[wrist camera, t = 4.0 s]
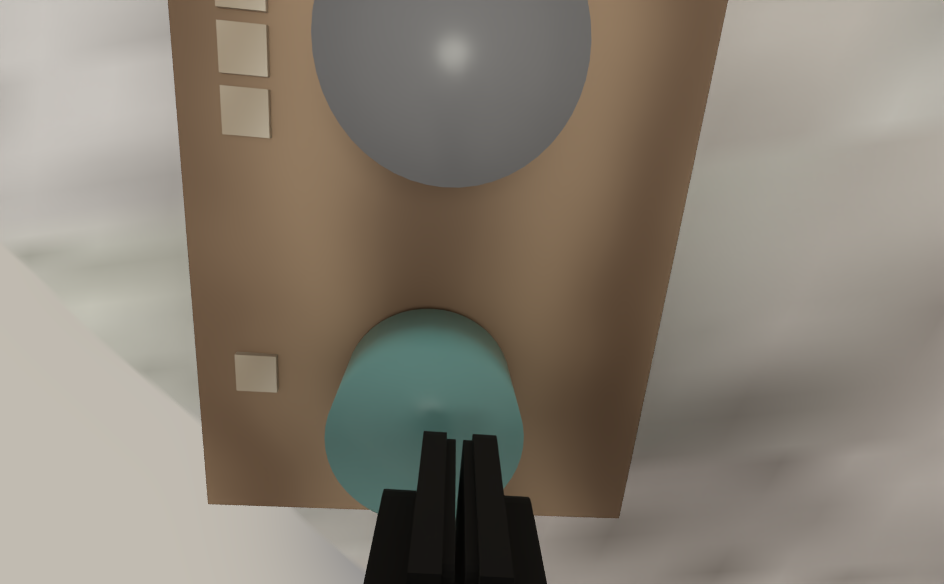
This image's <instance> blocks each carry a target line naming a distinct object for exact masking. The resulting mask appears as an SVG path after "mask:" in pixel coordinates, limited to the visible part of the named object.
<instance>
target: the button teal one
mask: <svg viewBox="0 0 944 584" xmlns="http://www.w3.org/2000/svg"><path fill="white" fill-rule="evenodd" d="M424 431H435V432H447V439H456V498H455V519H456V509H457V499H458V488H459V477H460V467H461V456H462V446H463V440H472V435H473V434H483V435H496V436H497V442H498V450H499V458H500V466H501V474H502V482H503V489H504V488H505V486H506V485H507V484H508V482H509V481H510V479H511V478H512V476H513V474H514V473H515V471H516V469H517V467H518V464H519V461H520V459H521V455H522V450H523V441H524V432H523V423H522V419H521V415H520V411H519V407H518V404H517V400H516V396H515V392H514V388H513V385H512V381H511V377H510V373H509V370H508V366H507V362H506V359H505V357H504V354H503V352H502V350H501V349H500V347H499V345H498V344H497V342H496V341H495V340H494V338H493V337H492V336H491V335H490V334H489V333H488V332H487V331H486V330H485V329H484V328H482V327H481V326H480V325H478V324H477V323H476V322H474V321H472V320H470V319H469V318H467V317H465V316H462V315H459V314H457V313H454V312H450V311H446V310H439V309H417V310H410V311H406V312H402V313H399V314H396V315H394V316H391V317H389V318H387V319H385V320H383V321H382V322H380V323H379V324H377V325H376V326H375V327H373V328H372V329H371V330H370V331H369V332H368V333H367V334H366V335H364V337H363V338H362V339H361V340H360V342H359V343H358V344H357V346H356V348H355V350H354V351H353V353H352V356H351V358H350V361H349V363H348V366H347V368H346V371H345V373H344V376H343V378H342V381H341V383H340V386H339V388H338V391H337V394H336V396H335V399H334V401H333V404H332V406H331V409H330V411H329V414H328V417H327V421H326V426H325V437H324V439H325V450H326V454H327V459H328V462H329V464H330V467H331V469H332V472H333V473H334V475H335V477H336V479H337V480H338V482H339V483H340V484H341V486H342V487H343V488H344V489H345V490H346V491H347V492H348V493H349V494H350V495H351V496H352V497H353V498H354V499H355V500H356V501H358V502H359V503H360V504H362V505H363V506H365V507H366V508H368V509H370V510H372V511H373V512H376V513H378V512H379V507H380V502H381V497H382V493H383V490H384V489H399V490H417V484H418V475H419V466H420V458H421V449H422V440H423V432H424Z"/></svg>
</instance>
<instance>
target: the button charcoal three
mask: <svg viewBox="0 0 944 584" xmlns="http://www.w3.org/2000/svg"><path fill="white" fill-rule="evenodd" d="M311 39H312V53H313V58H314V63H315V69H316V73H317V76H318V79H319V83H320V86H321V89H322V92H323V94H324V96H325V98H326V101H327V103H328V105H329V107H330V109H331V111H332V113H333V114H334V116H335V118H336V119H337V121H338V123H339V124H340V126H341V127H342V128H343V130H344V131H345V132H346V133H347V135H348V136H349V137H350V139H351V140H352V141H353V142H354V143H355V144H356V145H357V146H358V147H359V148H360V149H361V150H362V151H363V152H364V153H365V154H367V155H368V156H369V157H370V158H372V159H373V160H374V161H376V162H377V163H378V164H380V165H381V166H383V167H385V168H386V169H388V170H390V171H391V172H393V173H395V174H397V175H400V176H402V177H404V178H406V179H409V180H412V181H415V182H419V183H422V184H426V185H431V186H438V187H455V188H461V187H470V186H478V185H482V184H485V183H489V182H493V181H496V180H498V179H501V178H503V177H506V176H508V175H510V174H512V173H514V172H516V171H518V170H519V169H521V168H523V167H525V166H526V165H527V164H529V163H530V162H531V161H533V160H534V159H535V158H537V157H538V156H539V155H540V154H541V153H542V152H543V151H544V150H545V149H546V148H547V147H548V146H550V145H551V143H552V142H553V141H554V140H555V139H556V137H557V136H558V135H559V134H560V132H561V131H562V130H563V128H564V127H565V125H566V123H567V122H568V120H569V119H570V117H571V115H572V114H573V111H574V109H575V107H576V105H577V103H578V101H579V99H580V96H581V93H582V90H583V87H584V84H585V81H586V77H587V72H588V67H589V62H590V53H591V41H592V39H591V18H590V12H589V5H588V0H314V4H313V9H312V23H311Z"/></svg>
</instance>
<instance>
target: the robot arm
mask: <svg viewBox="0 0 944 584" xmlns="http://www.w3.org/2000/svg"><path fill="white" fill-rule="evenodd" d="M455 498H456V439H447V432H435V431H424V432H423V440H422V449H421V458H420V466H419V475H418V484H417V490H399V489H384V490H383V493H382V497H381V502H380V507H379V512H378V516H377V521H376V526H375V531H374V536H373V540H372V545H371V550H370V555H369V560H368V564H367V569H366V574H365V579H364V584H547V581H546V576H545V571H544V566H543V561H542V555H541V550H540V545H539V540H538V535H537V530H536V525H535V519H534V514H533V509H532V504H531V500H530V498H529V497H523V496H505V495H504V490H503V482H502V474H501V466H500V458H499V450H498V442H497V436H496V435H483V434H473V435H472V440H463V446H462V456H461V467H460V477H459V488H458V499H457V509H456V520H455Z"/></svg>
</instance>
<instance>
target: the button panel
mask: <svg viewBox="0 0 944 584" xmlns="http://www.w3.org/2000/svg"><path fill="white" fill-rule="evenodd" d="M727 3H728V0H588V5H589V12H590V18H591V39H592V41H591V53H590V62H589V67H588V72H587V77H586V81H585V84H584V87H583V90H582V93H581V96H580V99H579V101H578V103H577V105H576V107H575V109H574V111H573V114H572V115H571V117H570V119H569V120H568V122H567V123H566V125H565V127H564V128H563V130H562V131H561V132H560V134H559V135H558V136H557V137H556V139H555V140H554V141H553V142H552V143H551V145H550V146H548V147H547V148H546V149H545V150H544V151H543V152H542V153H541V154H540V155H539V156H538V157H537V158H535V159H534V160H533V161H531V162H530V163H529V164H527V165H526V166H525V167H523V168H521V169H519V170H518V171H516V172H514V173H512V174H510V175H508V176H506V177H503V178H501V179H498V180H496V181H493V182H489V183H485V184H482V185H478V186H470V187H461V188H455V187H438V186H431V185H426V184H422V183H419V182H415V181H412V180H409V179H406V178H404V177H402V176H400V175H397V174H395V173H393V172H391V171H390V170H388V169H386V168H385V167H383V166H381V165H380V164H378V163H377V162H376V161H374V160H373V159H372V158H370V157H369V156H368V155H367V154H365V153H364V152H363V151H362V150H361V149H360V148H359V147H358V146H357V145H356V144H355V143H354V142H353V141H352V140H351V139H350V137H349V136H348V135H347V133H346V132H345V131H344V130H343V128H342V127H341V126H340V124H339V123H338V121H337V119H336V118H335V116H334V114H333V113H332V111H331V109H330V107H329V105H328V103H327V101H326V98H325V96H324V94H323V92H322V89H321V86H320V83H319V79H318V76H317V73H316V69H315V63H314V58H313V53H312V39H311V23H312V9H313V4H314V0H168V8H169V20H170V33H171V45H172V58H173V70H174V83H175V96H176V108H177V121H178V133H179V146H180V158H181V171H182V183H183V196H184V208H185V221H186V233H187V246H188V258H189V271H190V283H191V296H192V309H193V321H194V334H195V346H196V359H197V371H198V384H199V396H200V409H201V421H202V434H203V445H204V459H205V471H206V484H207V496H208V504H220V505H249V506H250V505H251V506H278V507H307V508H336V509H365V510H370V509H368V508H366V507H365V506H363V505H362V504H360V503H359V502H358V501H356V500H355V499H354V498H353V497H352V496H351V495H350V494H349V493H348V492H347V491H346V490H345V489H344V488H343V487H342V486H341V484H340V483H339V482H338V480H337V479H336V477H335V475H334V473H333V472H332V469H331V467H330V464H329V462H328V459H327V454H326V450H325V439H324V437H325V426H326V421H327V417H328V414H329V411H330V409H331V406H332V404H333V401H334V399H335V396H336V394H337V391H338V388H339V386H340V383H341V381H342V378H343V376H344V373H345V371H346V368H347V366H348V363H349V361H350V358H351V356H352V353H353V351H354V350H355V348H356V346H357V344H358V343H359V342H360V340H361V339H362V338H363V337H364V335H366V334H367V333H368V332H369V331H370V330H371V329H372V328H373V327H375V326H376V325H377V324H379V323H380V322H382V321H383V320H385V319H387V318H389V317H391V316H394V315H396V314H399V313H402V312H406V311H410V310H417V309H439V310H446V311H450V312H454V313H457V314H459V315H462V316H465V317H467V318H469V319H470V320H472V321H474V322H476V323H477V324H478V325H480V326H481V327H482V328H484V329H485V330H486V331H487V332H488V333H489V334H490V335H491V336H492V337H493V338H494V340H495V341H496V342H497V344H498V345H499V347H500V349H501V350H502V352H503V354H504V357H505V359H506V362H507V366H508V370H509V373H510V377H511V381H512V385H513V388H514V392H515V396H516V400H517V404H518V407H519V411H520V415H521V419H522V423H523V432H524V441H523V450H522V455H521V459H520V461H519V464H518V467H517V469H516V471H515V473H514V474H513V476H512V478H511V479H510V481H509V482H508V484H507V485H506V486H505V488H504V489H503V490H504V495H505V496H523V497H529V498H530V500H531V504H532V509H533V514H534V515H538V516H567V517H595V518H619V516H620V511H621V506H622V501H623V497H624V492H625V487H626V482H627V478H628V473H629V468H630V463H631V459H632V454H633V449H634V444H635V440H636V435H637V430H638V425H639V421H640V416H641V411H642V406H643V402H644V397H645V392H646V387H647V383H648V378H649V373H650V368H651V364H652V359H653V354H654V349H655V345H656V340H657V335H658V330H659V326H660V321H661V316H662V311H663V307H664V302H665V297H666V292H667V288H668V283H669V278H670V273H671V269H672V264H673V259H674V254H675V250H676V245H677V240H678V236H679V231H680V226H681V221H682V217H683V212H684V207H685V202H686V198H687V193H688V188H689V183H690V179H691V174H692V169H693V164H694V160H695V155H696V150H697V145H698V141H699V136H700V131H701V126H702V122H703V117H704V112H705V107H706V103H707V98H708V93H709V88H710V84H711V79H712V74H713V69H714V65H715V60H716V55H717V50H718V46H719V41H720V36H721V31H722V27H723V22H724V17H725V12H726V8H727Z"/></svg>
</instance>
